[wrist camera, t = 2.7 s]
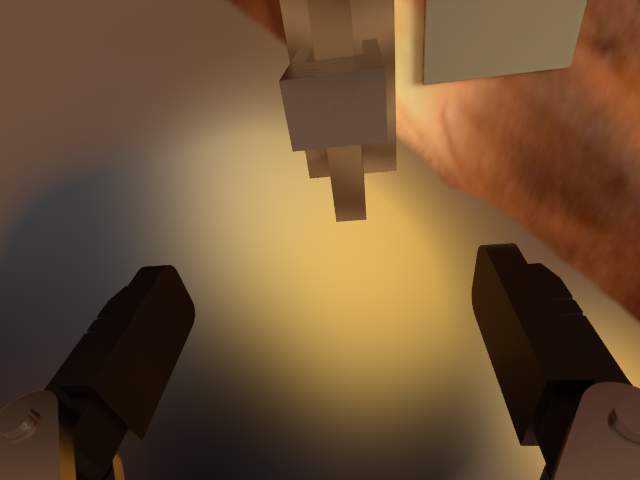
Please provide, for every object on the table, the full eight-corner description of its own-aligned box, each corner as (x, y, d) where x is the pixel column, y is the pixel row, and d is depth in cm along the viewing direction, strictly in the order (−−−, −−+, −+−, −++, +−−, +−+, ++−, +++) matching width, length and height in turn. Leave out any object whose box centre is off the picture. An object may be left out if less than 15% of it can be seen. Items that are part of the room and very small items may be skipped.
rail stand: (264, -102, 26) (219, -134, 17) (391, -128, 25) (411, -176, 16) (310, 173, 39) (298, 234, 30) (395, 166, 38) (408, 226, 29)
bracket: (299, 49, 26) (279, 81, 19) (376, 38, 26) (385, 67, 19) (307, 104, 29) (292, 151, 22) (378, 96, 28) (387, 141, 21)
